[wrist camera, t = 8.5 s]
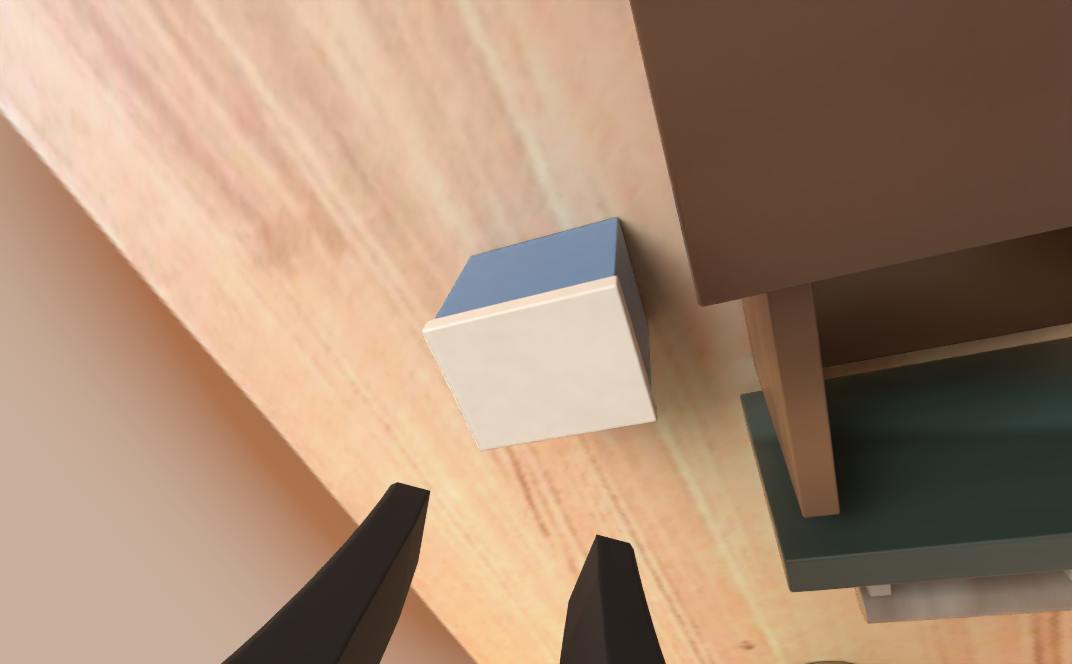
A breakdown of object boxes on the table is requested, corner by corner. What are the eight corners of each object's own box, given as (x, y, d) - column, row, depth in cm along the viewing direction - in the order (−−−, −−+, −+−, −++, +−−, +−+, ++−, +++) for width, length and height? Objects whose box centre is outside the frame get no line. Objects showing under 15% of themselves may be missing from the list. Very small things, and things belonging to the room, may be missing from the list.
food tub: (652, 327, 20) (657, 422, 16) (509, 357, 21) (479, 452, 17) (620, 212, 18) (617, 284, 14) (466, 253, 19) (420, 331, 15)
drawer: (1084, 479, 20) (1271, 685, 14) (764, 517, 22) (811, 700, 17) (1173, -137, 12) (1679, -243, 6) (666, 39, 15) (690, 79, 9)
